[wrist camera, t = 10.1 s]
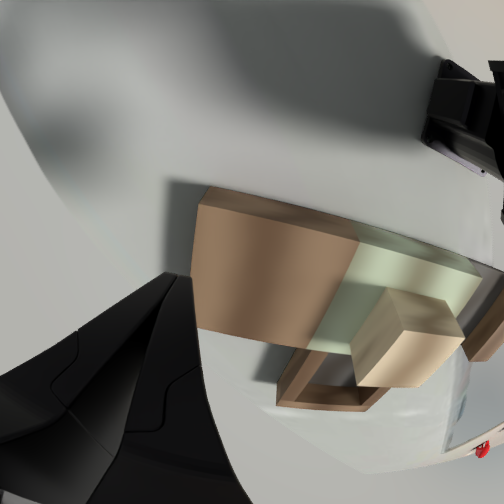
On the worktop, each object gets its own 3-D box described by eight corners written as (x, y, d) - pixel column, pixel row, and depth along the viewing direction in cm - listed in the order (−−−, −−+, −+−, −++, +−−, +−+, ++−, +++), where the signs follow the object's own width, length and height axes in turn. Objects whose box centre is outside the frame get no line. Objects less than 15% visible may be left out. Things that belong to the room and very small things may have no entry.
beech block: (445, 300, 18) (465, 338, 14) (406, 350, 21) (418, 387, 17) (386, 286, 17) (404, 330, 14) (349, 343, 20) (356, 385, 17)
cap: (481, 453, 59) (491, 453, 54) (474, 460, 58) (484, 460, 52) (481, 438, 62) (492, 437, 57) (474, 445, 61) (485, 445, 55)
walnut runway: (524, 280, 19) (537, 297, 17) (431, 391, 30) (436, 407, 28) (210, 186, 18) (198, 203, 15) (188, 365, 29) (182, 387, 26)
